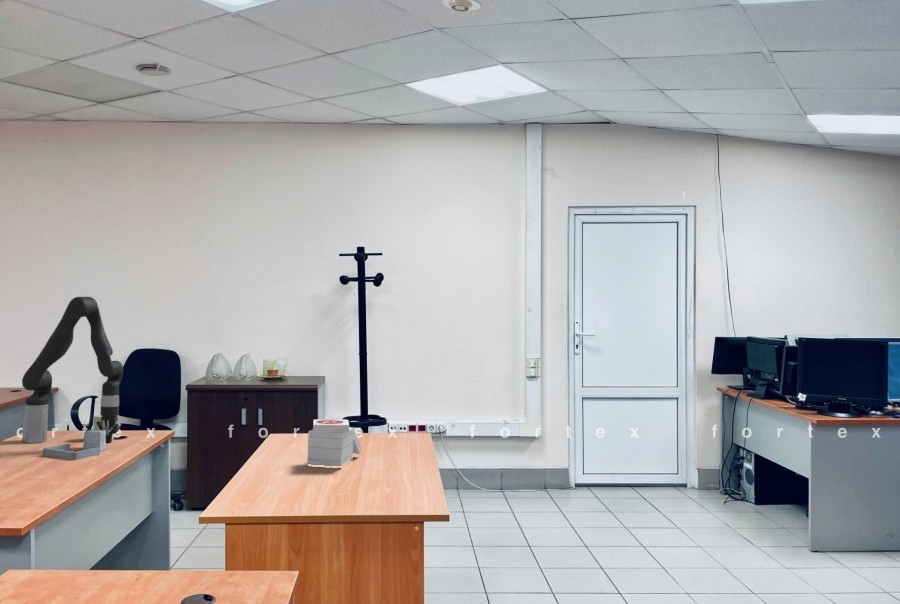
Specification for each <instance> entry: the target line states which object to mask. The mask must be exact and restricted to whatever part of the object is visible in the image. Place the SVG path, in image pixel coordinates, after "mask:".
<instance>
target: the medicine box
mask: <svg viewBox="0 0 900 604" xmlns="http://www.w3.org/2000/svg"><path fill="white" fill-rule="evenodd" d="M106 444H107V443H106V431H102V430H93V429H89V430H85V431H84V432H83V447H82V448H83V449H82V451H83V450H87V449H92V448H97V447H98V448H100V451H99V453H100V452H103V451H106V446H107V445H106Z"/></svg>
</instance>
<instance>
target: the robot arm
mask: <svg viewBox="0 0 900 604" xmlns="http://www.w3.org/2000/svg"><path fill="white" fill-rule="evenodd" d="M84 317H85V318H86V319H87V322H88V324H89V327H90V344H91V347H92V349H93V351H94V353H95V355H96V361H97V369H98V370H99V372H100V374H101V375H102V376H103V377H106V378H107V379H106V381H105V382H103V383H102V387H101V398H100V399H101V400H100V410H99V412H100V413H99V414H100V415H101V416H102V417H101V420H100V421H99V422H97V425H98V427H99V429H100V430H102V431H106V444H111V443H112V441H113V440H112V435H113V436H114V435H115V434H117V432H118V431H119V429H120V428H121V427H122V425H123V424H122V423H121V422H119V419H118V416H119V414H120V412H119V411H120V384H121V381H122V378H123V376H124V374H123V373H124V366H123V364H122V362H120V361H118V360H112V357H111V356H112V355H113V354H114V351H113V348H112V345H111V343H110V341H109V339H108V337H107V333H106V331H105V327H104V324H103V320H102V317H101V312H100V308H99V305H98V303H97V301H96V299H95V298H93V297H92V296H76V297H74V298H72V299H71V300H70V301H69V303H68V304H67V306H66V309H65V310H64V312H63V315H62V317H61V319H60V321H59V322H58V323H57V326H56V327H55V329H54V331H53V332H52V333H51V335H50V336H49V338H48V340H47V342H46V343H45V345H44V347H43V348H42V349H41V351H40V353H39V354H38V355H37V357H36V358H35V360H34V361H33V363H32V364H31V365H30V367H29V368H28V369H27V370H26V371H25V372H24V375H23V376H22V379H21V384H22V387H23V388H24V390H27V391H33V393H32V394H31V395H29V396H28V397H27V398H26V399H25V404H24V405H25V406H24V407H25V412H24V420H23V421H22V437H21V440H22V442H24V443H26V444H36V443H38V444H40V443H44V442H47V440H48V421H49V420H48V419H49V401H50V399H51V396H52V388H53V387H52V386H53V376H52V373H51V372H50V370H48V369H49V368H50V367H51V366H52V365H54V364H55V363H56V362H57V361H59V360H60V359H61V358H63V357H64V355H65V354H66V353H67V352H68V350H69V349H70V347H72V344H73V341H74V329H75V327H76V326H77V323H78V322H79V321H80V320H81V318H84ZM106 427H107V428H106ZM110 430H111V432H110Z"/></svg>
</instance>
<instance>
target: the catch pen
mask: <svg viewBox="0 0 900 604" xmlns="http://www.w3.org/2000/svg"><path fill="white" fill-rule="evenodd" d="M42 449H43V450H42V456H45V457H52V458H58V459H66V460H71V461H72V460H73V461H76V460H81V459H85V458H91V457H95V456H100V452H101V451H100V448H98V447H97V448H92V449H87V450H83V449H82V450H78V451H71V444H70V443H66V444H65V443H64V444H60V445H55V446H54V445H53V446H49V447H44V448H42ZM99 451H100V452H99Z"/></svg>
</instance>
